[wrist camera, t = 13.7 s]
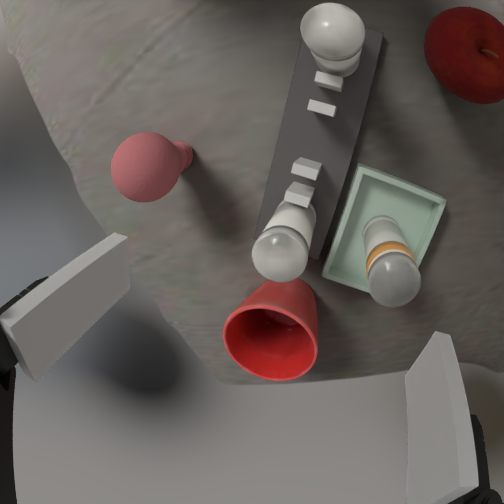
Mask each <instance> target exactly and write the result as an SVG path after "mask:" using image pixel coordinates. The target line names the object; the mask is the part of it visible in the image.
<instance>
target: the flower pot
mask: <svg viewBox="0 0 504 504" xmlns="http://www.w3.org/2000/svg"><path fill="white" fill-rule="evenodd" d="M223 340H224V344H225V347H226V349H227V351H228V353H229V355H230V356H231V358H232V359H233V360H234V361H235V362H236V363H237V364H238V365H239V366H240V367H241V368H243V369H244V370H246V371H247V372H249V373H251V374H253V375H255V376H257V377H260V378H263V379H267V380H273V381H286V380H292V379H295V378H298V377H300V376H302V375H304V374H305V373H307V372H308V371H309V370H310V369H311V368H312V367H313V365H314V364H315V362H316V359H317V356H318V317H317V306H316V299H315V295H314V293H313V291H312V289H311V288H310V287H309V285H307V284H306V283H305V282H304V281H302V280H301V279H299V278H296V279H295V280H293V281H290V282H284V283H280V282H274V281H271V280H267V281H265V282H264V283H263V284H262V285H261V286H260V287H259V288H257V289H256V290H255V291H254V292H253V293H252V294H251V295H250V296H249V297H248V298H247V299H246V300H245V301H244V302H242V303H241V304H240V305H239V306H238V307H237V308H236V309H235V310H234V311H233V312H232V313H231V315H230V316H229V317H228V318H227V320H226V322H225V324H224V328H223Z"/></svg>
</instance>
